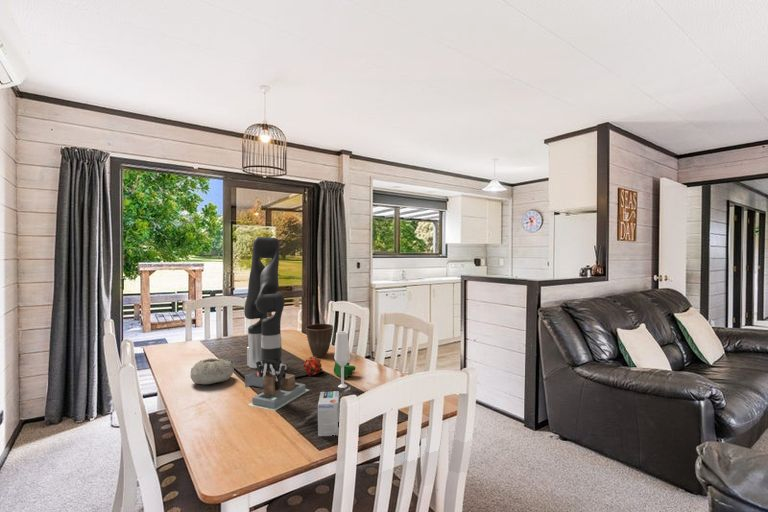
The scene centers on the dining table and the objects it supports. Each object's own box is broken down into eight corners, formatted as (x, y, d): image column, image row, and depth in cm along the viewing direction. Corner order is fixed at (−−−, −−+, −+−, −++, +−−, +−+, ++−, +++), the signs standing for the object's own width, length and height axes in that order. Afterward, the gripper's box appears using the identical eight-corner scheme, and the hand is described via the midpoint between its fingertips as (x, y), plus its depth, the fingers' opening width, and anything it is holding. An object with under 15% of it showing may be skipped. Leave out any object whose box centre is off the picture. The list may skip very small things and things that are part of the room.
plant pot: (339, 354, 219) (338, 325, 219) (321, 361, 207) (320, 330, 206) (318, 350, 227) (318, 322, 227) (300, 356, 215) (299, 327, 214)
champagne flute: (338, 392, 164) (337, 335, 163) (332, 387, 170) (331, 331, 169) (353, 389, 167) (352, 333, 166) (347, 384, 173) (346, 330, 172)
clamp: (350, 386, 183) (357, 370, 181) (339, 385, 180) (346, 369, 178) (343, 369, 193) (350, 354, 191) (332, 368, 190) (338, 352, 188)
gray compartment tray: (247, 407, 150) (247, 398, 150) (284, 387, 170) (284, 379, 170) (274, 413, 145) (274, 404, 145) (309, 392, 165) (309, 383, 165)
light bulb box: (320, 421, 138) (319, 391, 137) (339, 420, 138) (339, 390, 138) (317, 437, 127) (317, 404, 127) (338, 435, 128) (338, 403, 127)
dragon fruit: (314, 372, 194) (314, 384, 182) (299, 364, 192) (299, 375, 180) (324, 358, 193) (325, 370, 182) (310, 350, 191) (309, 361, 180)
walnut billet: (263, 394, 152) (263, 376, 152) (271, 389, 156) (271, 372, 156) (273, 395, 150) (272, 377, 150) (280, 391, 154) (280, 373, 154)
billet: (279, 394, 160) (278, 377, 160) (286, 390, 164) (286, 373, 164) (288, 395, 158) (287, 378, 158) (295, 391, 163) (294, 375, 162)
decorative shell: (224, 372, 190) (223, 352, 190) (240, 381, 178) (240, 359, 177) (184, 382, 178) (184, 360, 178) (199, 392, 165) (198, 369, 165)
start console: (245, 386, 171) (244, 375, 171) (261, 379, 180) (260, 368, 180) (263, 390, 167) (262, 378, 167) (278, 382, 176) (278, 371, 176)
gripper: (250, 345, 152) (251, 389, 153) (279, 349, 146) (280, 395, 147) (263, 341, 159) (264, 383, 159) (292, 344, 153) (293, 388, 154)
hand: (272, 388), depth 153 cm, fingers closed on walnut billet, 4 cm apart
